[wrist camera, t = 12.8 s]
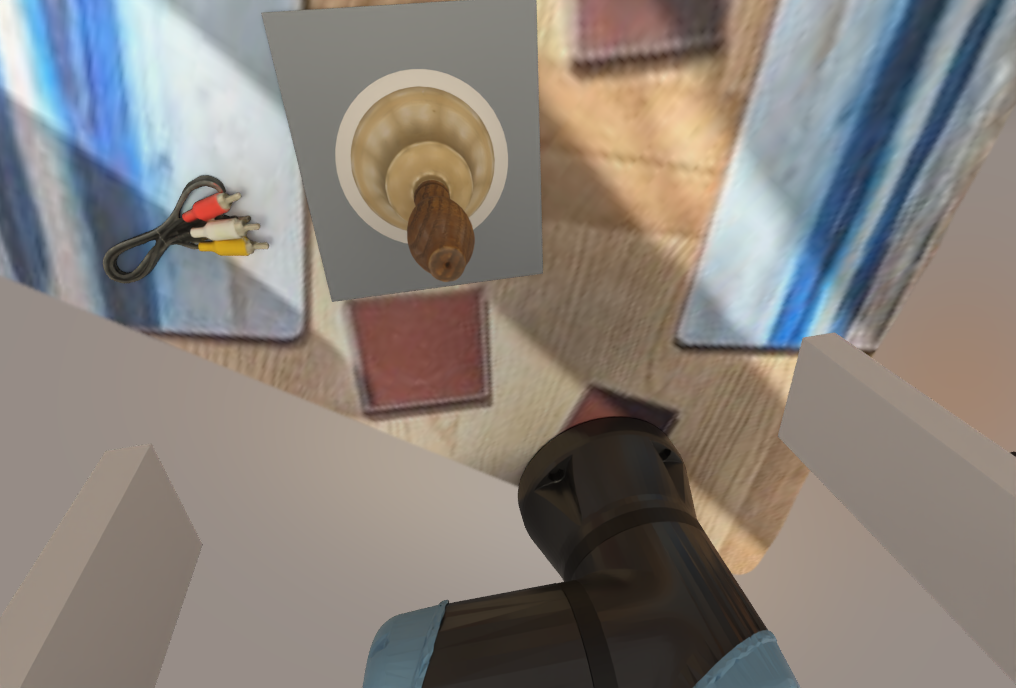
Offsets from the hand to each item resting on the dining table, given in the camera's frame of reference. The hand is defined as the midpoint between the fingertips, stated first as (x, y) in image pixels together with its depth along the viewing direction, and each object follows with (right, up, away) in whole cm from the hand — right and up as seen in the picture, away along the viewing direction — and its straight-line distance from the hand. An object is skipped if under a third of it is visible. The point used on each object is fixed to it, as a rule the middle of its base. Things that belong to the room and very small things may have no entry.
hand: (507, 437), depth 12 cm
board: (-5, +13, +22) cm, 26 cm away
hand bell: (-5, +13, +21) cm, 25 cm away
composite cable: (-20, +9, +22) cm, 31 cm away
